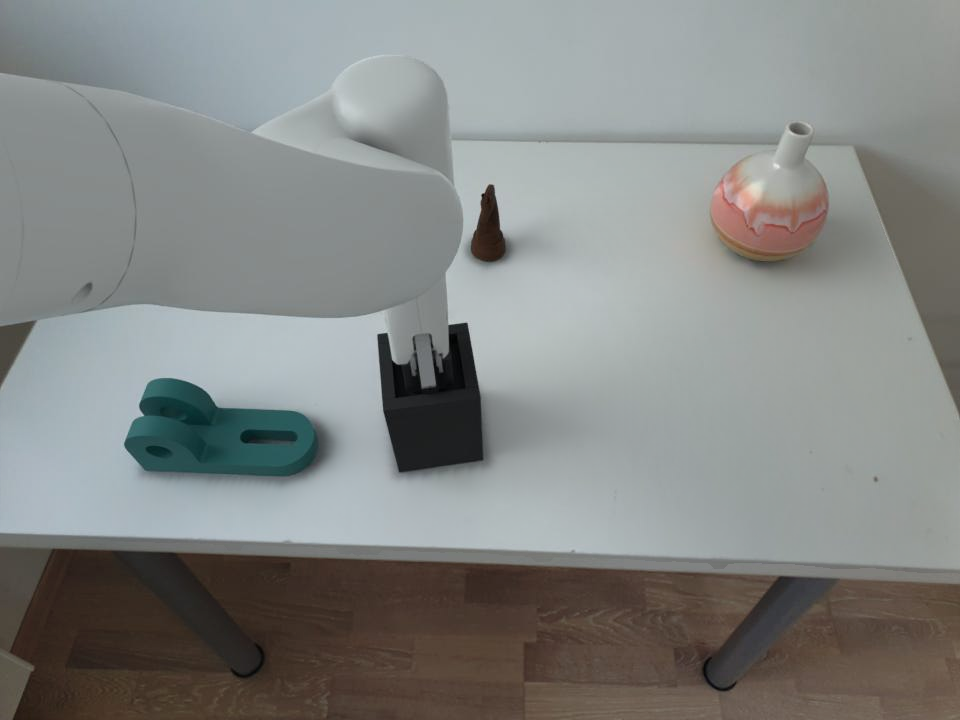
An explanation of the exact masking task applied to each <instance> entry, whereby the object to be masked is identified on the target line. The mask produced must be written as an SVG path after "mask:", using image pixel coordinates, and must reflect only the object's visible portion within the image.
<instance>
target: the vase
mask: <svg viewBox="0 0 960 720" xmlns="http://www.w3.org/2000/svg"><path fill="white" fill-rule="evenodd" d="M814 134H815V129H814V127H813V125H811V123H809V122H807V121H804V120H799V119H798V120H797V119H796V120H792V121H789V122H788V123H787V124H786V125H785V127H784V129H783V132H782V134H781V136H780V139H779V142H778V144H777V146H776V149H770V150H769V149H768V150H763V151H759V152H756V153H753V154H750V155H747V156H746V157H744V158H742V159H740V160H739V161H737V162H736V163H734V164H733V165H732V166H730V168H729V169H728V170H727V171H726V172H725V173H724V174H723V175H722V177H721V178H720V179H719V181H718V183H717V184H716V186H715V188H714V189H713V190H714V191H713V193H712V196H711V200H710V208H709V217H710V222H711V225H712V228H713V231H714V232H715V234H716V236H717V238H718V239H719V240H720V241H721V242H722V244H723V245H724V246H725V247H726V248H728V249H729V250H730V251H732V252H733V253H735V254H737V255H739V256H741V257H743V258H745V259H749V260H754V261H759V262H777V261H783V260H786V259H789V258H791V257H794V256H796V255H798V254H800V253H802V252H803V251H805V250H806V249H808V247H810V246H811V245H812V244H813V243H814V242H815V241H816V239H817V238H819V236H820V234H821V232H822V231H823V229H824V227H825V225H826V221H827V218H828V214H829V207H830V196H829V191H828V187H827V183H826V181H825V179H824V177H823V175H822V174H821V173H820V171H819V170H818V169H817V167H816V166H815V165H814V164H813V163H812V162H810V161H809V160H808V159H807V158H806V155H807V152H808V149H809V147H810V145H811V141H812V140H813V137H814Z"/></svg>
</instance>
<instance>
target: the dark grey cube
mask: <svg viewBox="0 0 960 720" xmlns="http://www.w3.org/2000/svg"><path fill="white" fill-rule="evenodd" d="M415 356H416V362H417V361H418V358H417V355H415ZM434 358H435V353H432V359H434ZM441 359H442V361H444V362H445V370H446V379H447V385H449V384H454V379H453V368H452V359H451V352H450V345H449V353H448V354H447V356H446V357H445V358H443V356H441ZM435 361H436V358H435ZM409 365H410V360H409V362H408V363H407V364H402V370H403V375H404V380H405V385H406V390H412V383H411V378H410V372H409Z"/></svg>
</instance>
